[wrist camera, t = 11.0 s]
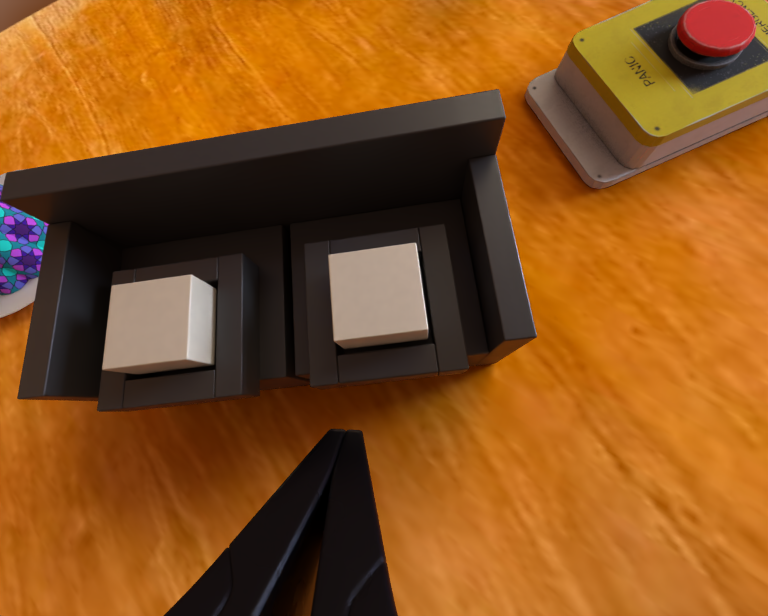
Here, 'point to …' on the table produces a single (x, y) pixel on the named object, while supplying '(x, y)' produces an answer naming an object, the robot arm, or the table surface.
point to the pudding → (19, 256)
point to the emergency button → (655, 85)
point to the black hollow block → (259, 214)
